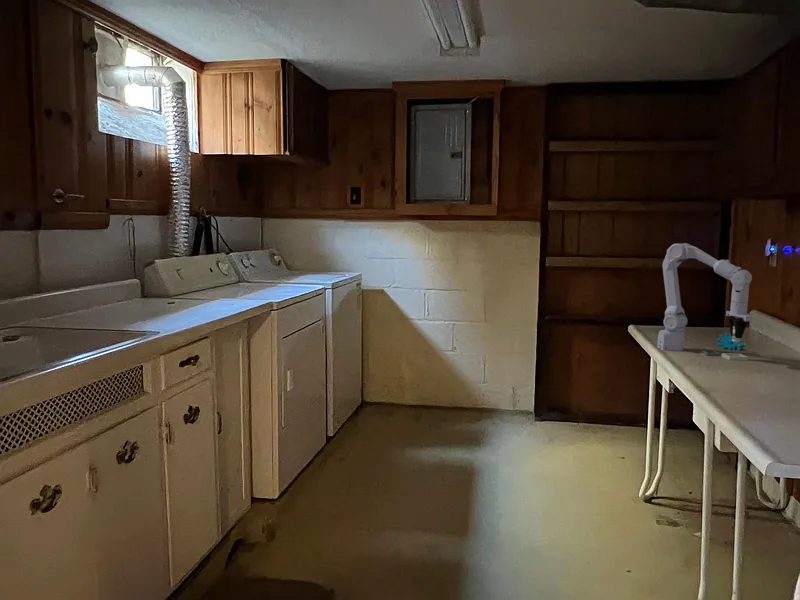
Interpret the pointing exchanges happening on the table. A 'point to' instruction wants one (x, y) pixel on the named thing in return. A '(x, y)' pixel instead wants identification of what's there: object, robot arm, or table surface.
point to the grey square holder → (710, 353)
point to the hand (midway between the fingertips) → (736, 337)
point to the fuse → (734, 336)
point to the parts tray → (734, 356)
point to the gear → (729, 343)
